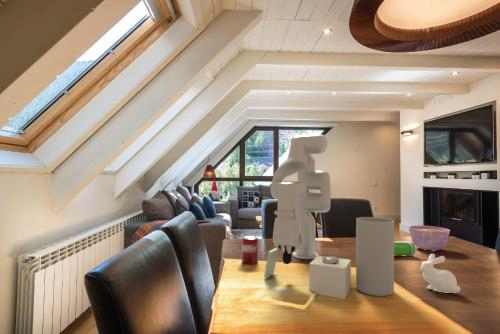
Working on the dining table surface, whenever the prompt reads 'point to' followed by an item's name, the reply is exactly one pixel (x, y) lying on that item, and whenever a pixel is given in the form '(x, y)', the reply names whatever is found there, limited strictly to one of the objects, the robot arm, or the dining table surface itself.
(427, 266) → the rabbit
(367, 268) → the cylinder vase
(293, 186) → the robot arm
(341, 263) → the hitch block
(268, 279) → the hinge foot
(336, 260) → the silver knob
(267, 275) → the plate
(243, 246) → the soda can
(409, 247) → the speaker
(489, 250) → the dining table surface
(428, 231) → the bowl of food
